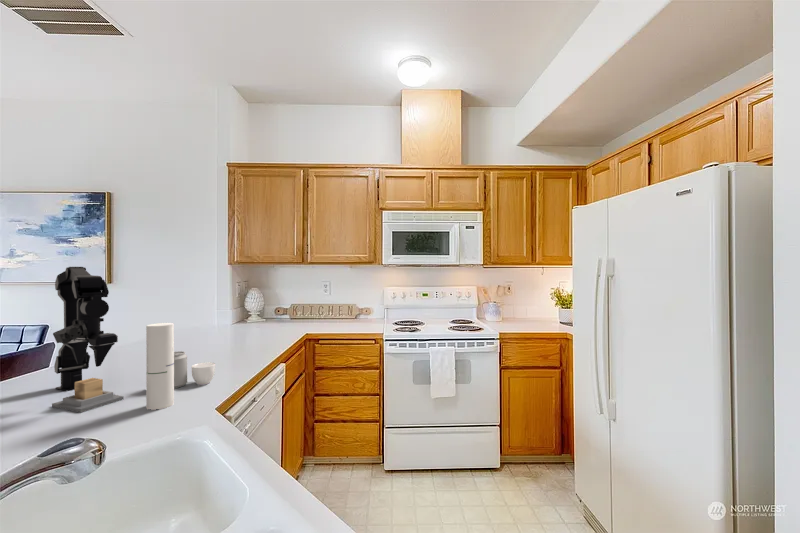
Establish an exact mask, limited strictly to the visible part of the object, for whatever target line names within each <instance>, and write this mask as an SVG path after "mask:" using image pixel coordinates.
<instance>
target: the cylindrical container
mask: <svg viewBox="0 0 800 533" xmlns="http://www.w3.org/2000/svg"><path fill="white" fill-rule="evenodd" d="M145 326H146V328H145V330H146V334H145V335H146V336H145V338H146V342H145V343H146V346H145V347H146V348H145V349H146V353H145V354H146V355H145V356H146V364H145V366H146V380H145V381H146V386H145V389H146V397H145V398H146V410H148V409H151V410H150V411H157V410H156V409H159V410H163V408H164V409H167V407H168V408H169V407H172V406H174V404H175V388H174V352H175V323H173V322H159V323H150V324H146V325H145Z"/></svg>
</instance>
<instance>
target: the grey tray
mask: <svg viewBox="0 0 800 533" xmlns="http://www.w3.org/2000/svg"><path fill="white" fill-rule="evenodd" d="M122 399H123V400H124V396H123V395H118V394H114V391H108V390H103V394H102V395H99V396H95V397H92V398H88V399H85V400H80V399H75V394H73V395H69V396H66V397H63V398H62V400H60V401H56V402H53V403H51V407H52V408H56V409H61V410H66V411H70V412H76V413H80V414H81V413H83V412H87V411H90V410H94V409H97V408H100V407H103V406H106V405H109V404H114V403H117V402H119V400H120V401H123V400H122ZM116 401H117V402H116Z"/></svg>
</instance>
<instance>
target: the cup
mask: <svg viewBox="0 0 800 533" xmlns="http://www.w3.org/2000/svg"><path fill="white" fill-rule="evenodd" d="M215 374H216V363H215V362H209V361H208V362H200V363H195V364H192V366H191V376H192V379H193V380H194V382H195V384H197V386H205V385H208V384H211V382H212V380H213V378H214V376H215Z"/></svg>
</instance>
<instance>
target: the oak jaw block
mask: <svg viewBox="0 0 800 533" xmlns="http://www.w3.org/2000/svg"><path fill="white" fill-rule="evenodd" d="M103 384H104V383H103V379H102V378H96V377H92V378H87V379H82V381H77V382H75V389H74V395H75V399H80V400H85V399H88V398H92V397H95V396H99V395H102V394H103V391H104V390H103V388H104V385H103Z"/></svg>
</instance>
